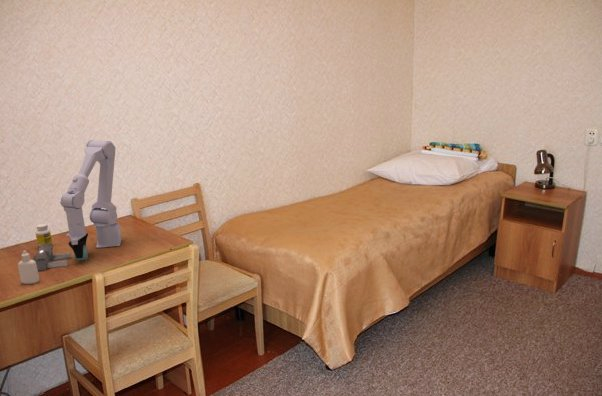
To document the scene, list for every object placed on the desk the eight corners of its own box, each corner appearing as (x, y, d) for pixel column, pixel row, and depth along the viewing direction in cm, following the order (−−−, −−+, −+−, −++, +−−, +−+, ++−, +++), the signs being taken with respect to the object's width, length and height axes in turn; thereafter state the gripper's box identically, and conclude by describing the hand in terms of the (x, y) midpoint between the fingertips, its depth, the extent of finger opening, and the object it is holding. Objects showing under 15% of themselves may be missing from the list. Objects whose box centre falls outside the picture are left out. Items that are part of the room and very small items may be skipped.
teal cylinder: (89, 255, 188) (87, 242, 186) (87, 260, 183) (85, 246, 182) (76, 256, 187) (74, 243, 185) (73, 261, 182) (71, 248, 181)
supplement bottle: (46, 249, 194) (42, 227, 191) (35, 248, 195) (31, 227, 192) (55, 244, 199) (51, 223, 196) (44, 244, 200) (40, 222, 197)
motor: (72, 255, 188) (70, 240, 186) (66, 267, 177) (63, 252, 175) (43, 258, 185) (40, 243, 183) (34, 271, 174) (31, 255, 172)
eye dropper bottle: (31, 277, 169) (25, 247, 166) (41, 280, 167) (35, 249, 163) (19, 282, 165) (13, 251, 162) (29, 286, 163) (23, 254, 159)
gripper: (68, 217, 186) (73, 249, 190) (60, 230, 173) (66, 263, 177) (87, 216, 188) (92, 247, 192) (81, 228, 175) (86, 261, 179)
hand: (81, 255), depth 185 cm, fingers open, 5 cm apart
